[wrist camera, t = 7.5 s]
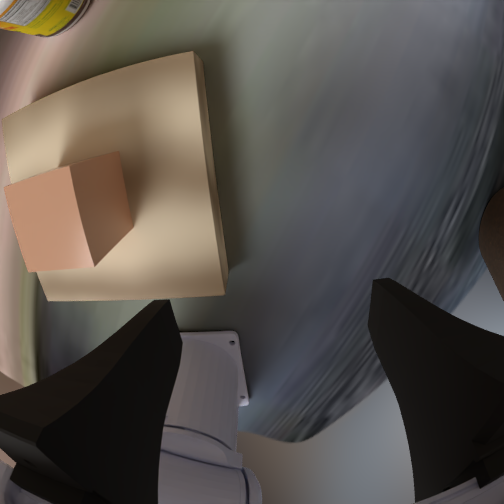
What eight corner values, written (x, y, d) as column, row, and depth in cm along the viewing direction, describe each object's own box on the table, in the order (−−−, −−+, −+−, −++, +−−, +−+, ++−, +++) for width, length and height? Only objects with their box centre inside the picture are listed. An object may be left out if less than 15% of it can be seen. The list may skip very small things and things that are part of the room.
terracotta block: (133, 227, 16) (94, 267, 12) (73, 235, 17) (28, 272, 12) (119, 150, 14) (69, 165, 10) (57, 166, 15) (3, 187, 10)
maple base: (228, 271, 21) (224, 295, 18) (66, 282, 22) (48, 301, 19) (203, 61, 15) (193, 50, 12) (27, 116, 16) (1, 119, 13)
